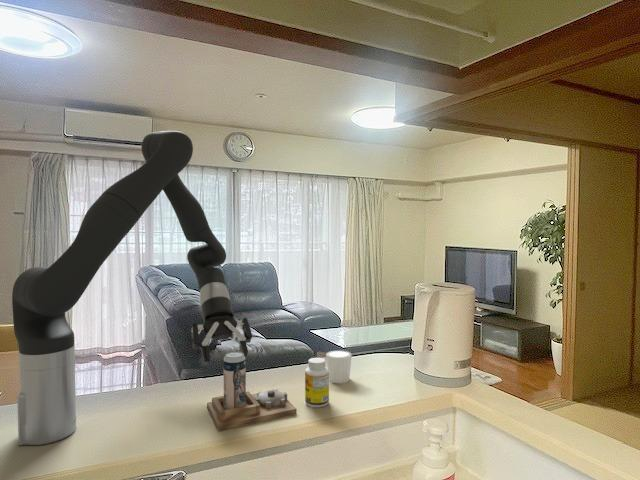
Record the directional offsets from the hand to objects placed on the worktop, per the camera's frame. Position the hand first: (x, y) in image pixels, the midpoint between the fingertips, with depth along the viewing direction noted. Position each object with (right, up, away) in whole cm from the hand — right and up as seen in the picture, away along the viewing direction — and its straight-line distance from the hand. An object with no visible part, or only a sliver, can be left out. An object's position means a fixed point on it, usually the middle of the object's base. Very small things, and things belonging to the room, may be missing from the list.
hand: (226, 360), depth 99 cm
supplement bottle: (+21, -10, -2) cm, 24 cm away
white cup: (+27, -9, +14) cm, 32 cm away
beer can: (+3, -9, -7) cm, 12 cm away
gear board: (+7, -10, -6) cm, 13 cm away
